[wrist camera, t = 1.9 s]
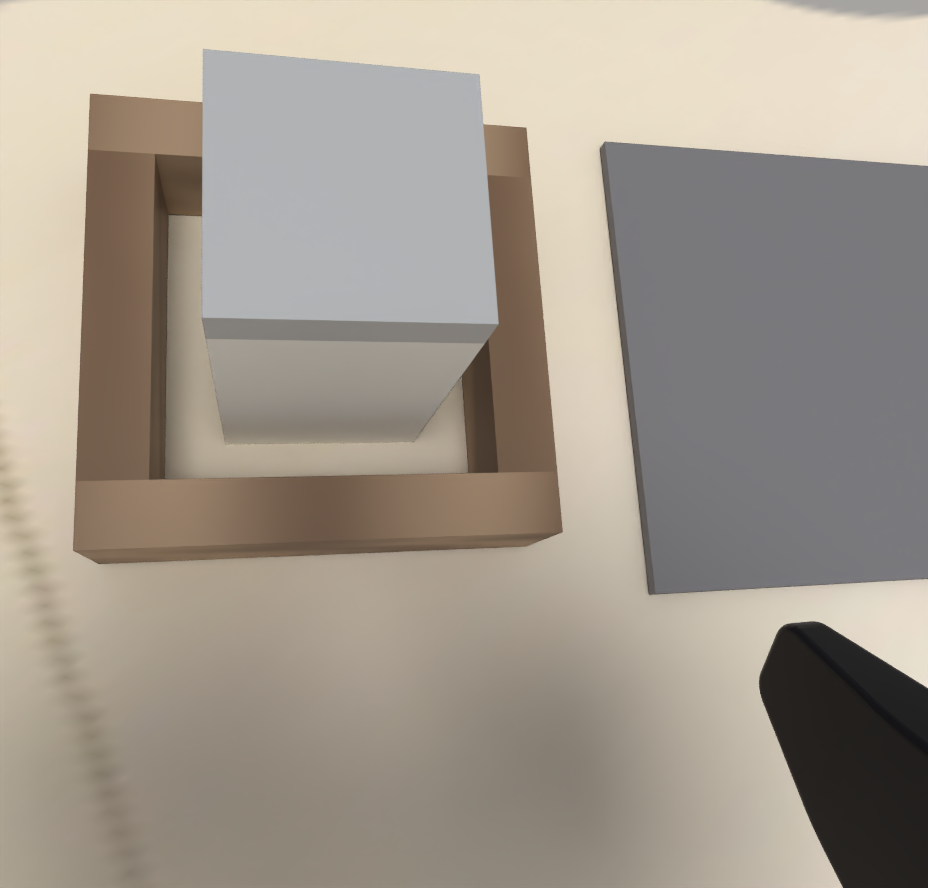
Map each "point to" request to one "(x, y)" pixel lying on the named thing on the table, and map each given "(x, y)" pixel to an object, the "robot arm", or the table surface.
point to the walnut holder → (286, 498)
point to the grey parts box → (341, 245)
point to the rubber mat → (773, 364)
